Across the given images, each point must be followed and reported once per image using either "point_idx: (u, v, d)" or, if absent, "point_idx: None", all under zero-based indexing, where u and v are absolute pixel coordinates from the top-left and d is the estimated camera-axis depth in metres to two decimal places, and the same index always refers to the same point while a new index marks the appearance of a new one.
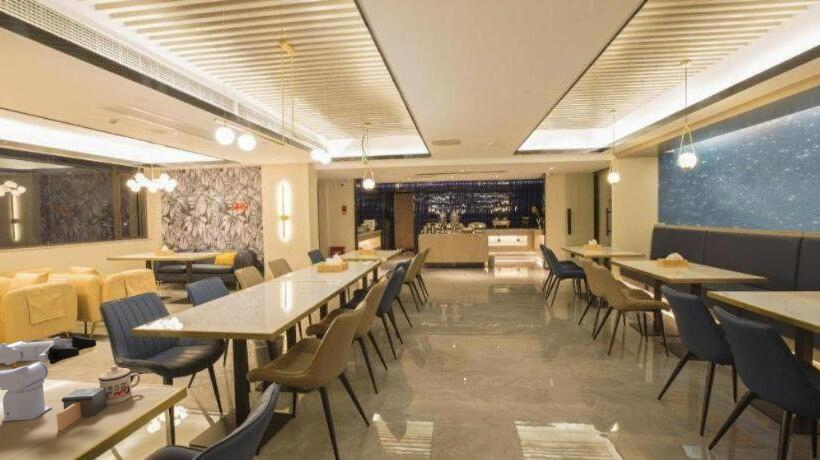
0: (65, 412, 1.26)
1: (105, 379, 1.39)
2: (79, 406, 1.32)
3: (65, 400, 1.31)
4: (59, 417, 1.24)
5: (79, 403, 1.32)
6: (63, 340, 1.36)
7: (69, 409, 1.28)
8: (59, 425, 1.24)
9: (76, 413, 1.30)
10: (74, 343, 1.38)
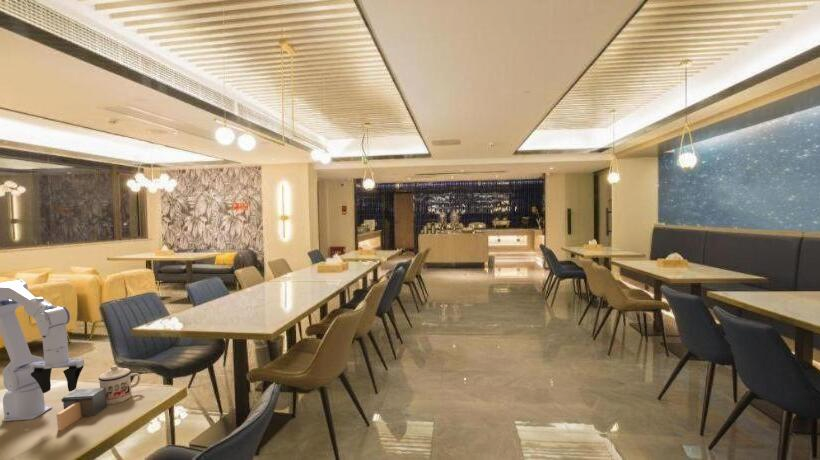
0: (65, 412, 1.26)
1: (105, 379, 1.39)
2: (79, 406, 1.32)
3: (65, 400, 1.31)
4: (59, 417, 1.24)
5: (79, 403, 1.32)
6: None
7: (69, 409, 1.28)
8: (59, 425, 1.24)
9: (76, 413, 1.30)
10: None
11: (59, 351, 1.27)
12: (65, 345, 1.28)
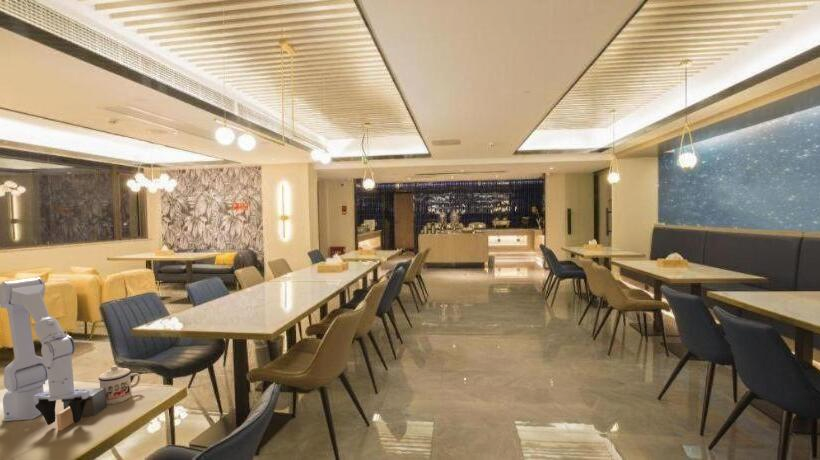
0: (65, 412, 1.26)
1: (105, 379, 1.39)
2: None
3: (65, 400, 1.31)
4: (59, 417, 1.24)
5: None
6: None
7: (69, 409, 1.28)
8: (59, 425, 1.24)
9: None
10: None
11: (64, 382, 1.24)
12: (70, 376, 1.25)
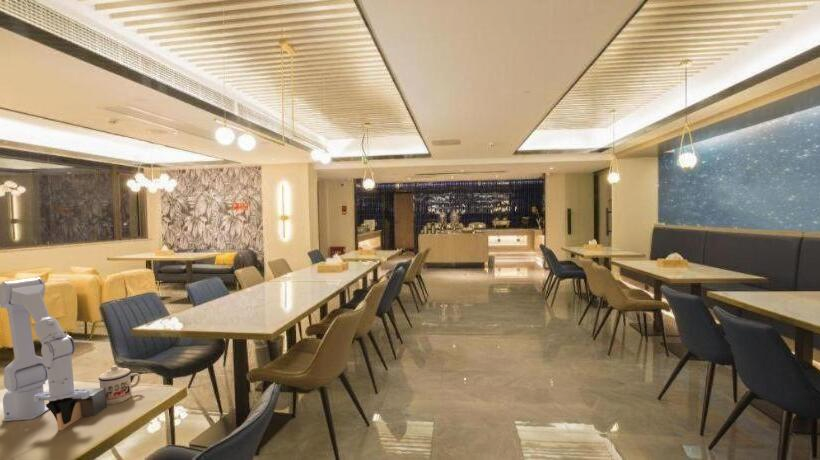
0: None
1: (105, 379, 1.39)
2: (79, 406, 1.32)
3: None
4: (59, 417, 1.24)
5: (79, 403, 1.32)
6: None
7: None
8: (59, 425, 1.24)
9: (76, 413, 1.30)
10: None
11: (64, 382, 1.24)
12: (70, 376, 1.25)
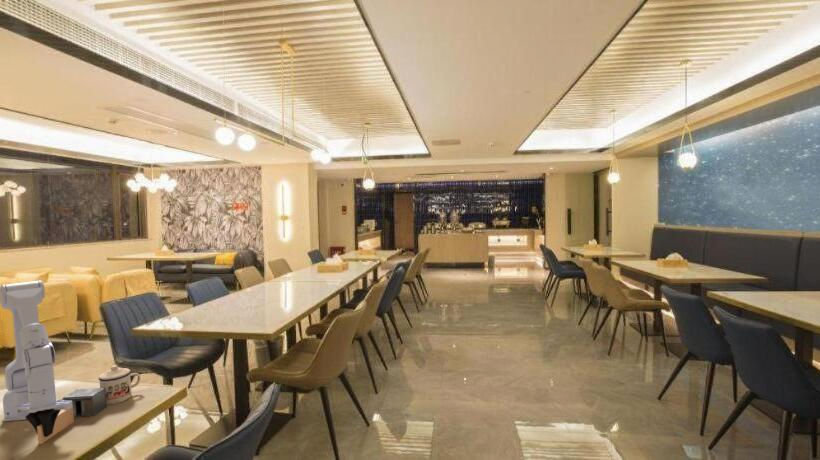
0: None
1: (105, 379, 1.39)
2: (62, 417, 1.25)
3: None
4: (40, 429, 1.17)
5: (62, 414, 1.25)
6: None
7: None
8: (40, 438, 1.17)
9: (59, 425, 1.23)
10: None
11: (45, 393, 1.17)
12: (49, 387, 1.18)
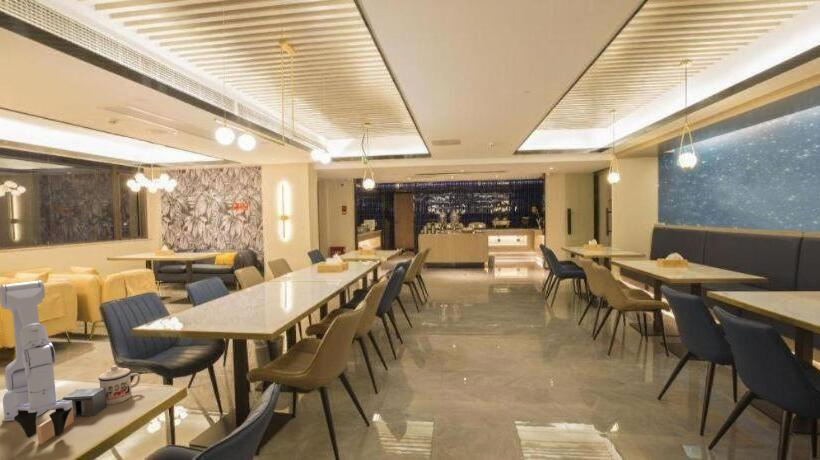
0: (46, 424, 1.19)
1: (105, 379, 1.39)
2: None
3: None
4: (40, 429, 1.17)
5: None
6: None
7: (51, 421, 1.21)
8: (40, 438, 1.17)
9: None
10: None
11: (45, 393, 1.17)
12: (49, 387, 1.18)
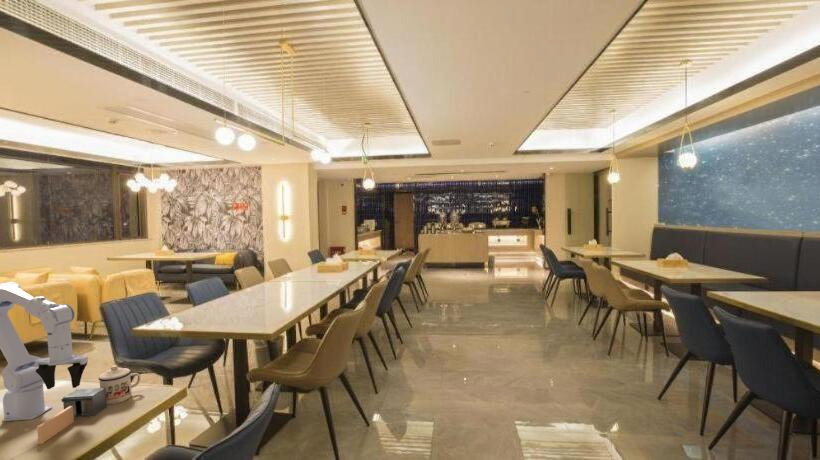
0: (46, 424, 1.19)
1: (105, 379, 1.39)
2: (62, 417, 1.25)
3: (65, 400, 1.31)
4: (40, 429, 1.17)
5: (62, 414, 1.25)
6: None
7: (51, 421, 1.21)
8: (40, 438, 1.17)
9: (59, 425, 1.23)
10: None
11: (63, 348, 1.29)
12: (70, 342, 1.31)
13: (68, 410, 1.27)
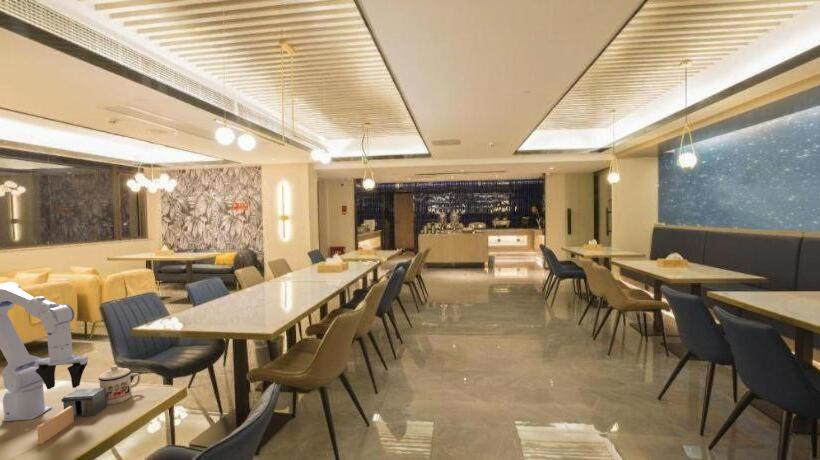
0: (46, 424, 1.19)
1: (105, 379, 1.39)
2: (62, 417, 1.25)
3: (65, 400, 1.31)
4: (40, 429, 1.17)
5: (62, 414, 1.25)
6: None
7: (51, 421, 1.21)
8: (40, 438, 1.17)
9: (59, 425, 1.23)
10: None
11: (63, 348, 1.29)
12: (70, 342, 1.31)
13: (68, 410, 1.27)
